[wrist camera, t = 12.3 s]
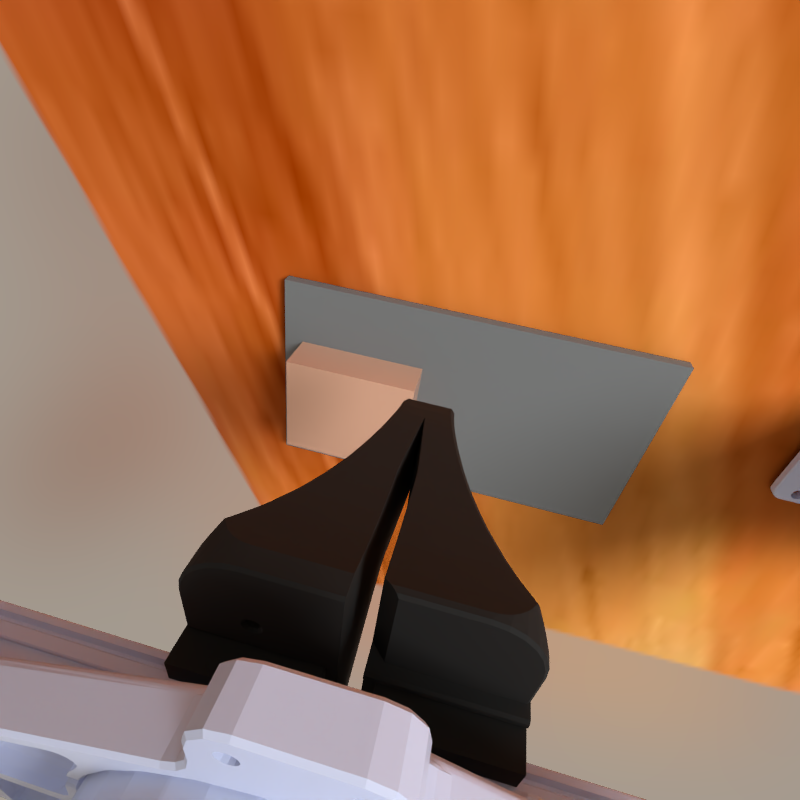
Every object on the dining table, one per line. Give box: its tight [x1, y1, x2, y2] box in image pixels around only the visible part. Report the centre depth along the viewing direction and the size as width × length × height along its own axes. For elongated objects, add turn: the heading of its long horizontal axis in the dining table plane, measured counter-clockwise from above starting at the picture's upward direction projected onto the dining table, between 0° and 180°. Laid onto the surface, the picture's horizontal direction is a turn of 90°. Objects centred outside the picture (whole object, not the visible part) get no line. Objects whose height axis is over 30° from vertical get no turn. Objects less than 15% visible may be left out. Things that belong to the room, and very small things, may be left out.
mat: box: [285, 276, 694, 525], centre depth 24 cm, size 18×10×1 cm, turn 82°
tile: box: [286, 342, 422, 458], centre depth 24 cm, size 2×5×6 cm
